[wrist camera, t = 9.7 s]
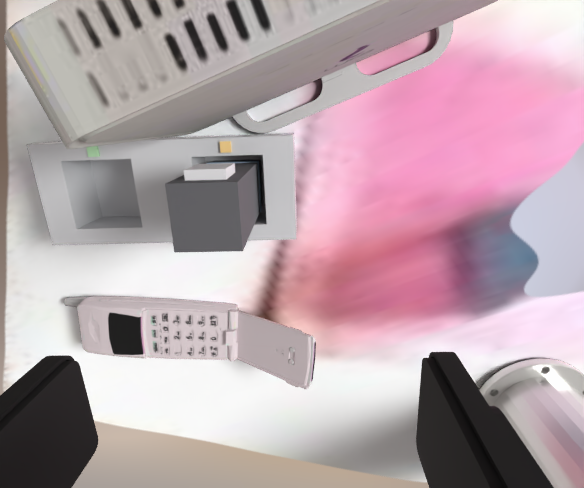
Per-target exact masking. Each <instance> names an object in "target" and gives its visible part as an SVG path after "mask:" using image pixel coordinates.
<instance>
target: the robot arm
mask: <svg viewBox="0 0 584 488" xmlns="http://www.w3.org/2000/svg"><path fill="white" fill-rule="evenodd" d="M416 443H417V450H418V455H419V458H420V461H421V464H422V467H423V470H424V473H425V476H426V479H427V482H428V485H429V488H584V375H583V374H582V373H581V372H580V371H579V370H578V369H576V368H575V367H573V366H572V365H570V364H567V363H565V362H562V361H559V360H554V359H541V358H538V359H530V360H525V361H521V362H518V363H514V364H512V365H510V366H508V367H505V368H503V369H502V370H500V371H499V372H497V373H495V374H494V375H493V376H492V377H491V378H489V379H488V380H487V381H486V382H485V383H484V385H483V386H482V387H481V388H480V390H479V389H478V388H477V386H476V384H475V383H474V381H473V380H472V378H471V377H470V375H469V374H468V372H467V371H466V369H465V367H464V366H463V364H462V363H461V361H460V360H459V358H458V357H457V355H456V354H455V353H454V352H431V353H430V355H429V358H423V360H422V370H421V383H420V397H419V410H418V423H417V436H416ZM97 445H98V435H97V432H96V428H95V424H94V420H93V416H92V412H91V408H90V404H89V400H88V397H87V393H86V389H85V385H84V381H83V377H82V373H81V369H80V366H79V363H78V362H76V361H74V359H73V358H72V357H71V356H46V357H45V358H43V359H42V360H41V361H40V362H39V363H37V364H36V365H35V366H34V367H33V368H32V369H31V370H29V371H28V372H27V373H26V374H25V375H24V376H22V377H21V378H20V379H19V380H18V381H17V382H15V383H14V384H13V385H12V386H11V387H10V388H8V389H7V390H6V391H5V392H4V393H3V394H2V395H0V488H71V487H72V486H73V485H74V483H75V481H76V480H77V478H78V477H79V475H80V474H81V472H82V471H83V469H84V468H85V466H86V465H87V463H88V462H89V460H90V459H91V457H92V456H93V454H94V453H95V451H96V448H97Z"/></svg>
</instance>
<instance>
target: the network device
mask: <svg viewBox="0 0 584 488" xmlns="http://www.w3.org/2000/svg"><path fill="white" fill-rule="evenodd" d="M496 1H498V0H57V1H56V2H54V3H52V4H50V5H48V6H46V7H44V8H42V9H40V10H38V11H36V12H35V13H33V14H31V15H29V16H27V17H25V18H23V19H21V20H20V21H18V22H16V23H15V24H14V25H12V26H11V27H10V28H9V29H8V30H7V32H6V34H5V36H4V41H5V43H6V45H7V46H8V48H9V50H10V52H11V53H12V55H13V57H14V59H15V60H16V62H17V64H18V65H19V67H20V69H21V71H22V72H23V74H24V76H25V78H26V79H27V81H28V83H29V85H30V86H31V88H32V90H33V91H34V93H35V95H36V97H37V98H38V100H39V102H40V104H41V105H42V107H43V109H44V111H45V112H46V114H47V116H48V117H49V119H50V121H51V123H52V124H53V126H54V128H55V130H56V131H57V133H58V135H59V137H60V138H61V140H62V142H63V143H64V145H65V147H66V149H77V148H85V147H92V146H100V145H108V144H116V143H124V142H132V141H139V140H147V139H155V138H163V137H171V136H179V135H186V134H191V133H194V132H196V131H199V130H202V129H204V128H207V127H209V126H211V125H214V124H216V123H218V122H221V121H223V120H225V119H228V118H230V117H232V116H233V118H234V119H235V120H236V121H237V123H238V124H240V125H241V126H242V127H243V128H245V129H247V130H249V131H252V132H256V133H268V132H271V131H275V130H277V129H279V128H282V127H284V126H287V125H289V124H291V123H294V122H296V121H298V120H301V119H303V118H305V117H308V116H310V115H313V114H315V113H317V112H320V111H322V110H324V109H327V108H329V107H332V106H334V105H336V104H339V103H341V102H343V101H346V100H348V99H351V98H353V97H355V96H358V95H360V94H362V93H365V92H367V91H369V90H372V89H374V88H377V87H379V86H381V85H384V84H386V83H388V82H391V81H393V80H396V79H398V78H400V77H403V76H405V75H407V74H410V73H412V72H415V71H417V70H419V69H422V68H424V67H426V66H428V65H430V64H432V63H433V62H434V61H436V60H437V59H438V58H439V57H440V56H441V55H442V53H443V52H444V51H445V50H446V48H447V46H448V44H449V42H450V39H451V35H452V32H453V20H455V19H457V18H460V17H462V16H464V15H466V14H469V13H471V12H473V11H476V10H478V9H480V8H482V7H485V6H487V5H489V4H491V3H494V2H496ZM434 28H435V29H436V41H435V44H434V46H433V47H432V48H431V50H429V51H428V52H427V53H424V54H422V55H420V56H417V57H415V58H412V59H410V60H408V61H405V62H403V63H401V64H398V65H396V66H394V67H391V68H389V69H387V70H384V71H382V72H380V73H377V74H375V75H365V74H363V73H361V72H360V71H359V70H358V68H357V65H356V62H358V61H361V60H363V59H365V58H368V57H370V56H372V55H375V54H377V53H379V52H381V51H384V50H386V49H388V48H391V47H393V46H395V45H397V44H400V43H402V42H404V41H407V40H409V39H411V38H414V37H416V36H418V35H420V34H423V33H425V32H427V31H430V30H432V29H434ZM319 78H321V81H322V91H321V94H320V95H319V97H318V98H317V99H316V100H314V101H312V102H310V103H307V104H305V105H302V106H300V107H298V108H295V109H293V110H291V111H288V112H286V113H284V114H281V115H279V116H277V117H274V118H272V119H270V120H267V121H265V122H257V121H254V120H253V119H252V118H251V117H250V116H249V115H248V113H247V111H246V110H248V109H250V108H253V107H255V106H257V105H260V104H262V103H264V102H267V101H269V100H271V99H273V98H276V97H278V96H280V95H283V94H285V93H287V92H290V91H292V90H294V89H296V88H299V87H301V86H303V85H306V84H308V83H310V82H313V81H315V80H317V79H319Z"/></svg>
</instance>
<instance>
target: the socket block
mask: <svg viewBox="0 0 584 488" xmlns="http://www.w3.org/2000/svg"><path fill="white" fill-rule="evenodd" d="M27 148H28V152H29V156H30V159H31V163H32V167H33V171H34V175H35V179H36V183H37V186H38V190H39V194H40V198H41V202H42V206H43V210H44V213H45V217H46V221H47V225H48V229H49V233H50V237H51V241H52V244H53V245H78V244H119V243H160V242H173V238H172V231H171V224H170V216H169V209H168V202H167V195H166V188H165V183H168V182H170V181H172V180H174V179H176V178H178V177H180V176H182V175H184V170H185V169H187V168H189V167H192V166H194V165H196V164H207V163H208V162H212V161H219V160H258V159H260V161H261V179H262V197H263V206H262V210H261V212H260V213H259V215H258V217H257V220H256V222H255V224H254V226H253V229H252V231H251V233H250V236H249V238H248V240H284V239H296V229H297V215H296V181H295V147H294V133H284V134H254V135H224V136H194V137H164V138H155V139H147V140H139V141H132V142H124V143H116V144H108V145H100V146H92V147H85V148H77V149H66V147H65V145H64V143H63V142H62V141H59V142H47V143H36V144H27Z"/></svg>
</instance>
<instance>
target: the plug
mask: <svg viewBox="0 0 584 488" xmlns="http://www.w3.org/2000/svg"><path fill="white" fill-rule="evenodd" d="M165 188H166V195H167V202H168V209H169V216H170V224H171V231H172V238H173V245H174V252H214V251H243V249H244V247H245V245H246V242H247V240H248V238H249V236H250V233H251V231H252V229H253V226H254V224H255V222H256V220H257V217H258V215H259V213H260V212H261V210H262V206H263V197H262V179H261V161H260V159H258V160H219V161H212V162H208V163H207V164H196V165H194V166H192V167H189V168H187V169H185V170H184V175H182V176H180V177H178V178H176V179H174V180H172V181H170V182H168V183H165Z"/></svg>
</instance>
